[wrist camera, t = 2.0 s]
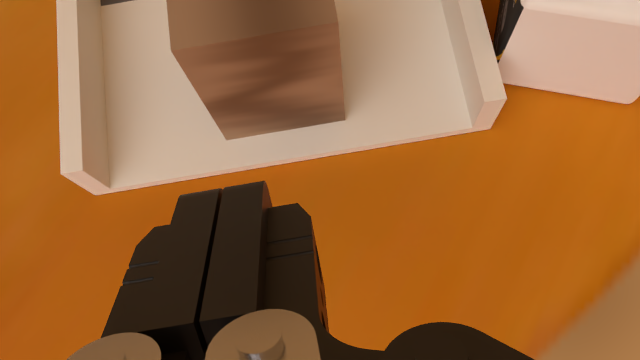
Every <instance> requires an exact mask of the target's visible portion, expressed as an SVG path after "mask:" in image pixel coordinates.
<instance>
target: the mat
mask: <svg viewBox="0 0 640 360" xmlns="http://www.w3.org/2000/svg"><path fill="white" fill-rule="evenodd" d="M128 1H133V0H100V2H101V6H105V5H110V4H116V3H122V2H128Z"/></svg>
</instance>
